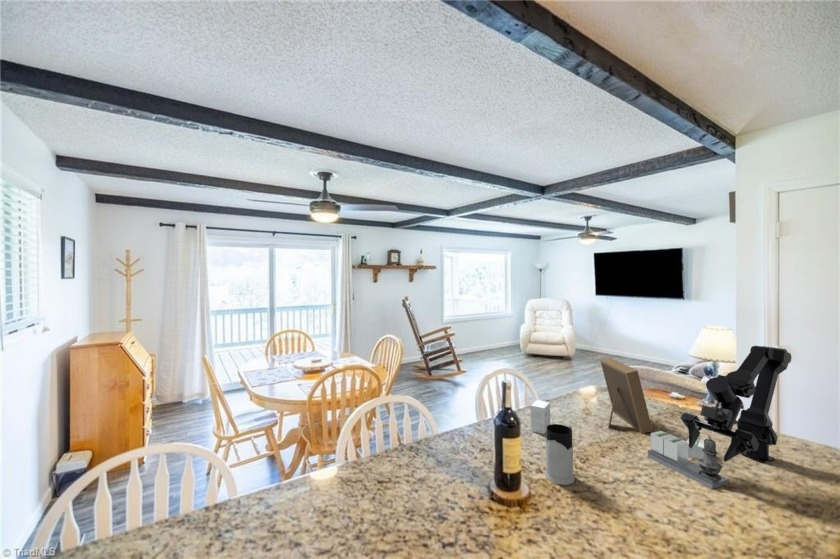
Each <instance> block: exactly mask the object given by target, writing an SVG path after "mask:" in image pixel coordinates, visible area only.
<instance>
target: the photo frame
mask: <svg viewBox="0 0 840 559" xmlns="http://www.w3.org/2000/svg"><path fill="white" fill-rule="evenodd" d="M599 362H600V365H601V369H602V373H603V377H604V381H605V386H606V388H607V392H608V396H609V400H610V404H611V412H610V415H609V421H608V428H607V429H610V428H611V425H612V419H613V413H614V414H615V415H616V416H617V417H618V418H620V419H622V420H623V421H625V423H627V424H629V425H630V426H631V427H633V428H634V429H636V431H638V432H640V434H646V433H650V432H651V433H652V432H653V427H652V423H651V418H650V415H649V410H648V407H647V403H646V399H645V395H644V391H643V390H644V389H643V387H642V386H643V385H642V384H641V379H640V375H639V370H638V369H635V368H633V367H631V366H629V365H626V364H624V363H622V362H619V361H618V360H615V359H614V358H611V357H606V358H603V359H600V361H599Z"/></svg>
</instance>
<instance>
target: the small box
mask: <svg viewBox="0 0 840 559" xmlns="http://www.w3.org/2000/svg"><path fill="white" fill-rule="evenodd" d="M548 425H551V402H548V401H544V400H539V399H537V400H535V401H534V402H533V403H532V404H531V405H530V431H531V432H534V433H537V434H542V435H545V434H547V426H548Z"/></svg>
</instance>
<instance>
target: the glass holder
mask: <svg viewBox="0 0 840 559" xmlns="http://www.w3.org/2000/svg"><path fill="white" fill-rule="evenodd" d="M545 440H546V441H545V461H546V462H545V472H544V477H545V478H546V480H548V481H550V482H551V483H554V484H558V485H563V486H565V485H572V484H573V483H574V482H575V476H574V447H573V446H574V445H573V427H572V425H570V424H567V425H563V424H559V423H558V424H557V423H553V424H551V423H550V425H548V426H547V432H546V439H545Z"/></svg>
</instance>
